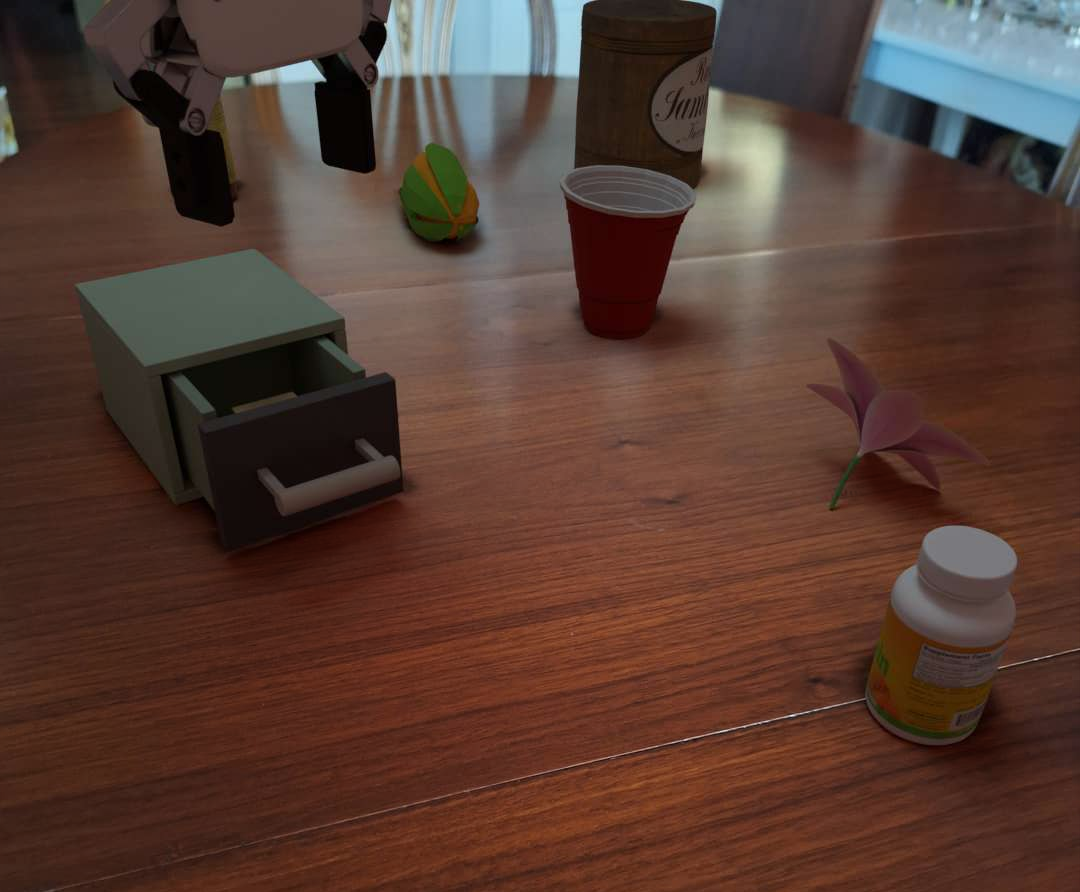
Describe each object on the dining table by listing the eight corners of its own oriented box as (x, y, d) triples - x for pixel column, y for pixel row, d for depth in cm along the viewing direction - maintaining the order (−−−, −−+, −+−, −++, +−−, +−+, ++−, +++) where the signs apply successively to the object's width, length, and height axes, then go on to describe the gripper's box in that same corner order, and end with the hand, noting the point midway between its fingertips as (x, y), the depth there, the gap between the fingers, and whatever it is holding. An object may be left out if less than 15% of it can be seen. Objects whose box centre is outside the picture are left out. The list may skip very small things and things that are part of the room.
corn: (413, 177, 95) (385, 122, 111) (412, 257, 100) (385, 194, 115) (492, 178, 97) (453, 124, 113) (487, 257, 101) (451, 194, 117)
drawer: (438, 523, 62) (432, 408, 57) (257, 589, 57) (234, 467, 52) (312, 405, 74) (298, 301, 69) (152, 450, 68) (126, 341, 64)
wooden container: (685, 204, 115) (706, -21, 102) (557, 188, 118) (563, -30, 106) (711, 168, 126) (733, -38, 113) (594, 155, 130) (603, -46, 117)
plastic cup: (665, 362, 82) (679, 212, 75) (537, 340, 85) (539, 193, 78) (696, 311, 91) (712, 171, 84) (579, 293, 93) (584, 156, 86)
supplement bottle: (865, 662, 54) (907, 506, 48) (974, 683, 53) (1030, 527, 47) (860, 734, 50) (905, 574, 44) (979, 760, 48) (1040, 598, 43)
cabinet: (358, 449, 71) (345, 317, 65) (175, 506, 65) (144, 366, 59) (272, 368, 80) (254, 247, 75) (107, 411, 74) (74, 283, 69)
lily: (975, 564, 63) (1044, 414, 61) (815, 511, 59) (884, 350, 57) (868, 512, 74) (923, 384, 72) (728, 464, 70) (782, 328, 68)
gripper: (306, -243, 48) (343, 141, 58) (-40, -261, 36) (81, 227, 46) (436, -244, 45) (451, 163, 55) (103, -264, 33) (200, 261, 43)
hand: (282, 192), depth 50 cm, fingers open, 9 cm apart
